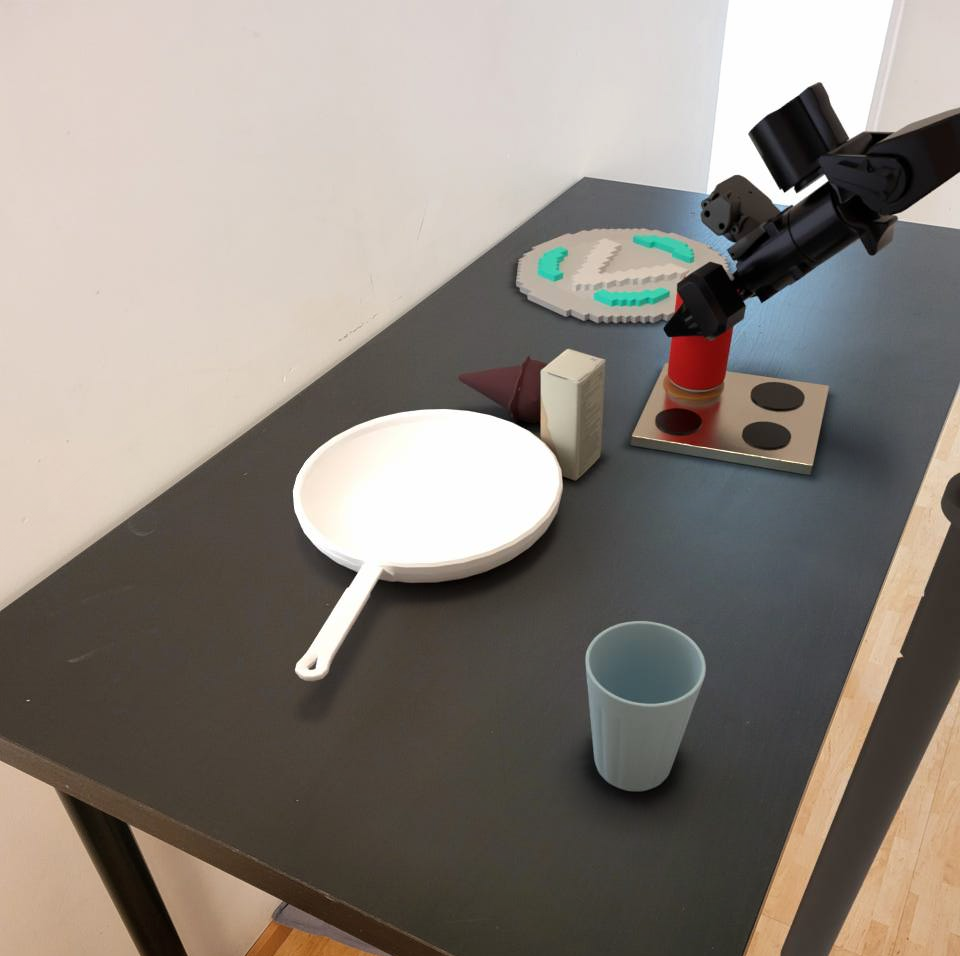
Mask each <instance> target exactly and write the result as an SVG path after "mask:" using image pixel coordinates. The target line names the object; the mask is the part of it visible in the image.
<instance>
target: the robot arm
mask: <svg viewBox="0 0 960 956" xmlns="http://www.w3.org/2000/svg"><path fill="white" fill-rule="evenodd" d="M748 136H749V138H750V140H751V142H752V144H753V145H754V147H755V149H756V151H757V152H758V154H759V156H760V158H761V159H762V161H763V163H764V165H765V167H766V168H767V171H768V172H769V174H770V175H771V177H772V179H773V180H774V182H775V185H776V186H777V188H778V189H779V190H780V191H781V190H782V192H783V194H785V193H787V192H789V191H790V190H791V189H793V190H794V192H795V194H799V193H800V192H802V191H803V190H805V189H806V188H808V187H809V186H811V185H813V184H814V183H816V182H817V181H818V180H820V179H821V178H822V177H823V176H825V177H826V180H827V181H826V182H824V183H823V184H821V185H820V186H819V187H818V188H817V189H815V190H813V191H812V192H810V193H809V194H808V195H807V196H805V197H804V198H802V199H800V201H799V202H797V203H795V205H794V204H791V205H789V206H787V207H786V208H784V209H783V210H782V211H781V209H780V208H778V207H777V206H776V205H775V204H774V202H773V201H772V199H771V198H770V197H769V196H767V194H765V193H764V192H763V191H762V190H760V189H759V188H758V187H757V186H756V185H755V184H754V183H753V182H752V181H750V180H749V179H748V178H747V177H745V176H743V175H741V174H734V175H731V176H730V177H728V178H726V179H725V180H722V181H721V182H719V183H717V184H716V186H715V187H714V189H713V190H712V191H711V192H710V194H709V195H708V197H706V198H705V199H703V200H702V201H701V202H700V207H701V212H700V221H701V223H702V224H703V225H705V227H707V228H708V229H709V230H710V231H711V232H713V233H714V234H715V235H716V236H717V237H721V236H723V237H724V238H725V239H726V240H728V241H729V242H732V243H734V244H732V245H730V246H729V247H728V248H727V249H726V251H727V253H728V255H729V257H730V258H731V259H732V261H733V262H737V263H735V268H736V269H735V271H734V272H732V273H731V274H732V275H733V276H734V278H735V279H733V280H732V281H731V279H730V278H729V276H728V274H727V272H726V271H725V269H724V267H723V266H722V265H721V264H717V263H714V262H708V263H707V264H705V265H703V266H702V267H700V268H699V269H697V270H695V271H694V272H692V273H691V274H689V275H688V276H687V277H685V278H684V279H683V280H681V281H680V282H679V283H677V292H678V294H679V296H680V297H681V299H682V301H683V303H682V304H681V306H680V307H679V308H678V310H677V311H676V312H675V314H674V315H673V316H672V317H671V319H670V320H669V321H666V324H665V325H664V326H663V327H662V329H663V332H664V333H665V335H666V337H667V338H672V337H685V336H704V337H705V338H706V339H708V340H710V341H712V340H714V339H715V338H717V337H718V336H720V335H721V334H723V333H724V332H726V331H727V330H729V329H730V328H732V327H733V326H734V327H735V326H736V325H737V324H739V323H740V322H742V321H744V319H745V314H746V308H747V305H746V301H747V300H748V299H751V298H756V297H757V298H758V300H759V302H760V303H761V304H763V303H765V302H766V301H768V300H769V299H771V298H772V297H774V296H775V295H776V294H778V293H779V292H781V291H783V290H784V289H785V288H786V287H788V286H791V285H793V284H795V283H796V282H798V281H799V280H801V279H803V278H804V277H805V276H807V275H808V274H809V273H811V272H812V271H814V270H815V269H816V268H818V267H819V266H821V265H822V264H824V263H826V262H827V261H828V260H830V259H832V258H833V257H834V256H836V255H837V254H839V253H840V252H842V251H843V250H845V249H847V248H848V247H850V246H851V245H853V244H854V243H856V242H857V241H859V240H860V242H861V244H862V246H863V247H864V249H865V250H866V252H867V254H868V255H869V256H871V257H873V256H876V255H877V254H879V253H880V252H881V251H882V250H883V249H885V248H887V247H888V246H889V245H891V244H892V243H893V240H894V234H895V227H896V224H897V222H898V220H899V217H898V215H897V214H900V213H903V212H905V211H907V210H908V209H909V208H911V207H912V206H914V205H916V204H917V203H918V202H919V201H921V200H922V199H923V198H925V197H927V196H929V194H931V193H932V192H934V191H935V190H936V189H939V188H940V187H941V186H942V185H944V184H945V183H947V182H948V181H950V180H951V179H953V178H954V177H955V176H956V175H958V174H960V107H956V108H952V109H948V110H946V111H943V112H940V113H939V112H938V113H937V114H936V113H935V114H933V115H931V116H928V117H925V118H923V119H919V120H917V121H914V122H911V123H909V124H906V125H905V126H903V127H901V128H900V129H898V130H896V131H868V130H867V131H866V130H865V131H862V132H860V133H858V134H856V135H855V136H853V137H851V138H850V137H849V135H848V133H847V131H846V129H845V127H844V126H843V124H842V122H841V120H840V118H839V116H838V115H837V113H836V111H835V109H834V108H833V105H832V103H831V100H830V96H829V93H828V92H827V89H826V88H825V86H824V85H823V82H821V81H818V82H815V83H813V84H811V85H810V86H807V87H806V88H805V89H804V90H803V91H802V92H800V93H799V94H797V96H795V97H793V98H792V99H791V100H789V101H788V102H786V103H785V104H783V105H782V106H781V107H779V108H778V109H776V110H774V111H772V112H769V113H768V114H767V115H765V116H764V117H763V118H761V120H760V121H758V122H757V123H756V124H755V125H754V126H753V127H752V128H751V129H750V130H749V131H748ZM737 290H739V292H738V291H737ZM734 327H733V328H734Z"/></svg>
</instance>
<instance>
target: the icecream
mask: <svg viewBox="0 0 960 956" xmlns="http://www.w3.org/2000/svg"><path fill="white" fill-rule="evenodd" d="M548 364H549V363H546V362H544V361H540V360H537V359H531V357H530V355H528V356H526V357H525V358H524V361H523V363H521V364H518V365H510V366H506V367H505V366H503V367H497V368H491V369H485V370H478V371H471V372H465V373H459V374H458V377H457V379H458V381H460V382H461V383H462V384H465V385H466V386H468V387H469V388H471V389H473V390H475V391H476V392H478V393H479V394H481V395H483V396H484V397H486V398H488V399H489V400H491V401H492V402H494V403H496V405H499V406H501V407H502V408H503V409H505V410H507V411H508V412H510V413H511V414H510V418H511V419H512V422H513V423H514V424H517V422H518V421H522V422H525V423H533V424H536V423H540V422H541V370H542V369H543V368H545V367H546V366H547V365H548Z"/></svg>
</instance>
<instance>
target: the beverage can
mask: <svg viewBox="0 0 960 956" xmlns="http://www.w3.org/2000/svg"><path fill="white" fill-rule="evenodd" d="M699 268H700V267H698V268H695V269H692V270H691V271H689V272H688V273H687V274H686V275H685V276H684V278H685V277H687V276H688V275H689V274H691V273H692V272H694V271H695V270H697V269H699ZM725 271H726V272H727V274H728V276H729V278H730V279H731V281H732V280H733V279H735V278H734V276H733V275H732V274H733V273H732V272H731V271H727V270H725ZM730 272H731V273H730ZM684 278H683V279H684ZM683 279H682V280H683ZM737 291H738V292H739V290H737ZM682 303H683V301H682V299H681V297H680V296H679V294H678V292H677V295H676V304H675V312H676V311H677V310H678V308H679V307H680V306H681V304H682ZM675 312H674V314H675ZM734 327H735V325H734V326H733V327H732V328H730V329H729V330H727V331H726V332H724V333H723V334H721V335H720V336H718V337H717V338H715V339H714V340H712V341H710V340H708V339H706V338H705V337H704V336H685V337H671V339H670V341H671V342H670V348H669V356H668V363H669V365H668V376H669V378H670V380H671V382H672V383H673V384H674V385H676V386H677V387H679V388H681V389H683V390H685V391H688V392H693V393H700V392H707V391H710V390H713V389H716V388H717V387H719V386H720V385H721V384H722V383H723V381H724V379H725V376H726V371H727V368H728V362H729V356H730V350H731V346H732V345H731V344H732V338H733V333H734Z"/></svg>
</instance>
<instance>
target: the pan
mask: <svg viewBox="0 0 960 956" xmlns="http://www.w3.org/2000/svg"><path fill="white" fill-rule="evenodd" d="M563 491H564V485H563V476H562V472H561V468H560V466H559V463H558V461H557V459H556V457H555V455H554V454H553V453H552V451H551V450H550V449H549V448H548V446H547V445H546V444H545V443H544V442H543V441H541V438H539V437H538V436H536V435H535V434H534V433H532V431H530V430H528V429H525V428H524V427H521V426H520V425H518V424H517V423H514V422H513V421H512V422H511V421H509V420H505V419H502V418H500V417H497V416H493V415H490V414H485V413H480V412H476V411H470V410H462V409H461V410H459V409H447V408H442V409H441V408H440V409H419V410H410V411H403V412H397V413H393V414H389V415H383V416H379V417H377V418H374V419H370V420H368V421H365V422H362V423H359V424H356V425H354V426H352V427H350V428H349V429H346V430H345V431H342V432H340V433H339V434H337V435H335V436H333V437H332V438H331V439H329V440H328V441H326V442H325V443H324V444H322V445H321V446H320V447H318V448H317V449H316V450H315V451H314V452H313V453H312V454H311V455H310V456H309V458H307V460H305V462H304V464H303V466H302V467H301V469H300V470H299V473H298V474H297V475H296V478H295V483H294V486H293V490H292V493H293V494H292V495H293V506H294V513H295V515H296V517H297V519H298V523H299V524H300V527H301V529H302V531H303V533H304V535H306V537H307V538H308V539H309V540H310V542H311V543H312V545H314V546H315V547H316V548H317V549H318V551H320V552H321V553H322V554H324V555H325V556H327V557H328V558H329V559H331V560H332V561H334V562H335V563H337V564H339V565H340V566H342V567H345V568H347V569H350V570H352V571H354V572H356V573H357V574H356V576H355V577H354V578H353V580H352V581H351V583H350V585H349V587H346V589H345V591H344V592H343V594H342V595H341V597H340V598H339V600H338V601H337V603H336V605H335V606H334V608H333V609H332V611H331V613H330V614H329V616H328V617H327V619H326V621H325V622H324V624H323V626H322V627H321V629H320V630H319V632H318V634H317V636H316V637H315V639H314V640H313V641H312V644H311V645H310V647H309V648H308V649H307V651H306V653H304V655H303V656H302V657H301V658H300V659H299V660H298V661H297V662H296V665H295V669H294V672H295V674H296V675H297V676H298V677H299V678H300V679H301V680H304V681H306V682H308V681H309V682H315V681H319V680H323V679H324V678H325V677H326V676H327V675H328V674H329V672H330V667H331V664H332V662H333V660H334V658H335V656H336V655H337V653H338V651H339V649H340V648H341V646H342V645H343V643H344V641H345V640H346V638H347V636H348V635H349V633H350V631H351V629H352V628H353V625H354V624H355V623H356V621H357V619H358V617H359V616H360V614H361V612H362V611H363V609H364V607H365V605H366V604H367V602H368V600H369V599H370V597H371V593H372V591H373V589H374V587H375V586H376V585H377V582H378V581H379V580H382V581H387V582H392V583H394V582H401V583H408V584H409V583H410V584H413V583H414V584H417V583H419V584H421V583H441V582H448V581H454V580H461V579H466V578H469V577H472V576H475V575H479V574H483V573H486V572H488V571H490V570H493V569H495V568H497V567H499V566H501V565H503V564H506V563H508V562H510V561H511V560H513V559H514V558H516V557H518V556H519V555H522V553H523V552H525V551H526V550H528V549H529V548H531V547H532V546H533V545H534V544H535V543H536V542H537V541H538V540H539V539H540V538H541V537H542V536H543V535H544V534H545V533H546V531H547V530H548V529H549V527H550V526H551V524H552V522H553V520H554V518H555V517H556V516H557V514H558V511H559V507H560V503H561V499H562V494H563ZM314 665H315V668H314V669H310V668H312V667H313V666H314Z"/></svg>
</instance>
